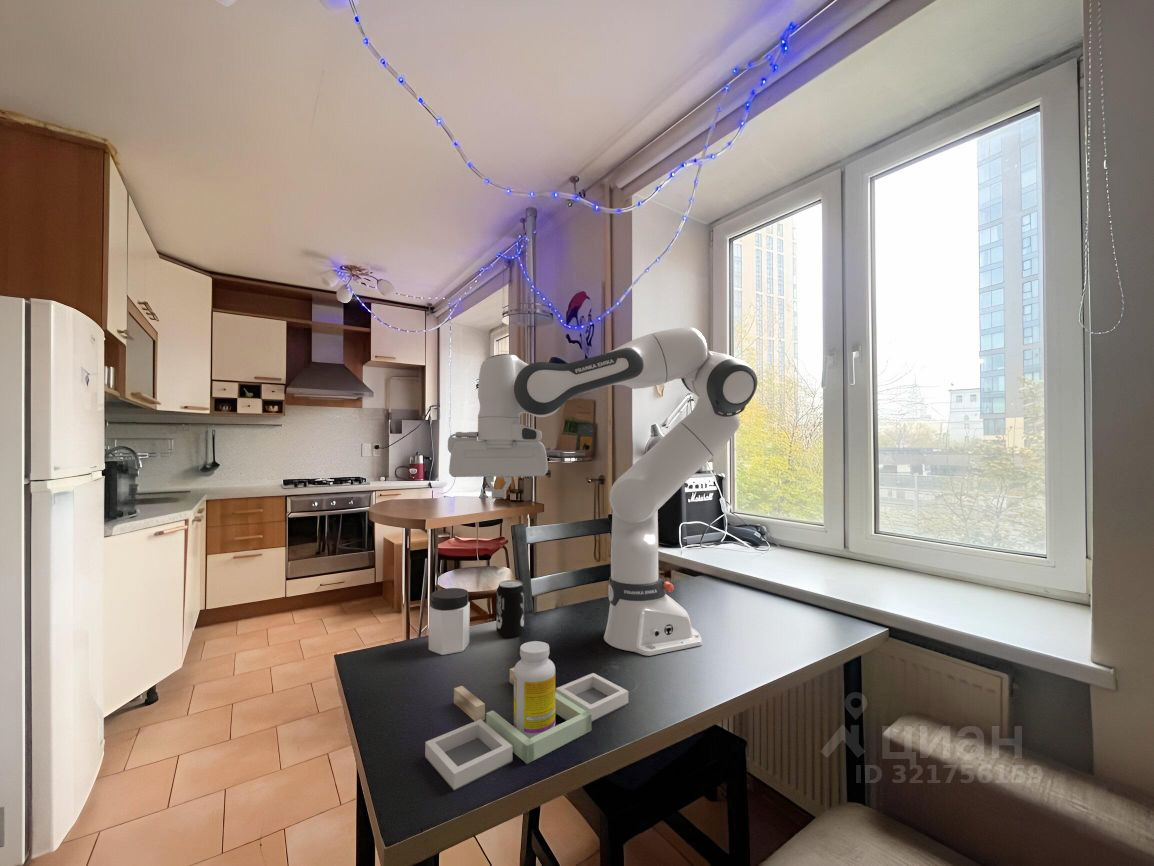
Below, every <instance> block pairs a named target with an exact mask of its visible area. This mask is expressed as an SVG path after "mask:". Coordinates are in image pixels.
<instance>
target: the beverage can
mask: <svg viewBox="0 0 1154 866" xmlns="http://www.w3.org/2000/svg"><path fill="white" fill-rule="evenodd" d="M495 612H496V615H495V617H496V618H495V619H496V621H495V622H496V623H495V624H496V626H495V627H496V628H495V629H496V630H495V632H496V633H497V635H498V636H500V637H502V638H505V639H507V638H508V639H509V638H510V639H512V638H517V637H519V636H521V635H522V633H523V632H524V631H525V630H524V629H525V587H524V585H523V582H522V581H521V580H517V579H508V580H507V579H506V580H502V581H500V582H498V587H497V588H496V611H495Z"/></svg>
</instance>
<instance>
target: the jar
mask: <svg viewBox="0 0 1154 866" xmlns="http://www.w3.org/2000/svg"><path fill="white" fill-rule="evenodd" d="M470 604H471V603H470V601H469V591H468V590H467V589H464V588H459V587H448V588H441V589H438V590H435V591H433V592H432V593H431V595H430V606H429V607H428V650H429V651H430V652H433V653H436V654H438V655H441V656H445V655H451V654H457V653H462V652H463V651H464V650H466V648H467V647H468V646H469V644H470V624H471V623H470V621H471V620H470V618H471V616H470V614H471V613H470V611H471V610H470V609H471V608H470Z"/></svg>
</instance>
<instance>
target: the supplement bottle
mask: <svg viewBox="0 0 1154 866" xmlns="http://www.w3.org/2000/svg"><path fill="white" fill-rule="evenodd" d="M519 655H520V660H518V661H517V662H516V663H515V666H514V667H515V668H514V667H513V668H514V685H513V726H514V727H515V728H516V729H517V730H519V731H520V732H521V733H522V734H524V735H525V736H526V737H527V738H529V739H530V738H532V737H534V736H536V735H538V734H540V733H542V732H544V731H546V730H548V729H551V728H553V727H555V726H556V713H555V692H556V666H555V663H554V662H553V661H552V660H551V659H550V658H549V655H550V645H549V643H548V642H547V643H546V642H544V641H537V640H534V641H533V640H532V641H528V642H524V643H522V644H521V645H520V648H519Z"/></svg>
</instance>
